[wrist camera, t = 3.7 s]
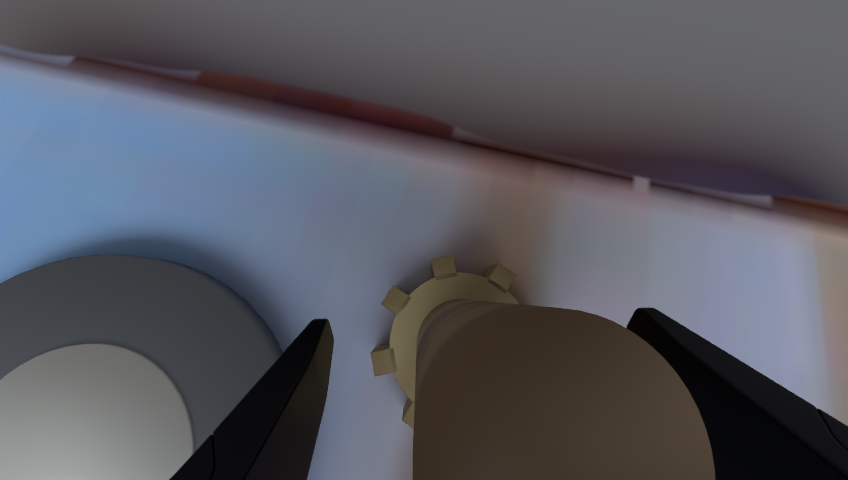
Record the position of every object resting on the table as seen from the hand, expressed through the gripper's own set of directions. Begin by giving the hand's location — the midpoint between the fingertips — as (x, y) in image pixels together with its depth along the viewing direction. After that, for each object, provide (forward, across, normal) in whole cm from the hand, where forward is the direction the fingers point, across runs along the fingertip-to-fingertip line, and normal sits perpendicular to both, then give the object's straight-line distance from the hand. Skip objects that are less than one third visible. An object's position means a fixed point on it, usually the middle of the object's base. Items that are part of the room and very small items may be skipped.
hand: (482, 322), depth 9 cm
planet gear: (+4, 0, +6) cm, 7 cm away
